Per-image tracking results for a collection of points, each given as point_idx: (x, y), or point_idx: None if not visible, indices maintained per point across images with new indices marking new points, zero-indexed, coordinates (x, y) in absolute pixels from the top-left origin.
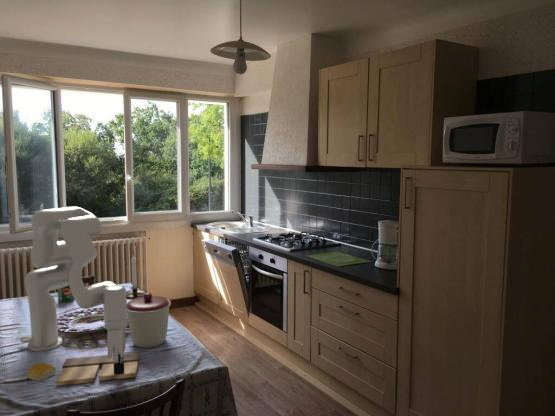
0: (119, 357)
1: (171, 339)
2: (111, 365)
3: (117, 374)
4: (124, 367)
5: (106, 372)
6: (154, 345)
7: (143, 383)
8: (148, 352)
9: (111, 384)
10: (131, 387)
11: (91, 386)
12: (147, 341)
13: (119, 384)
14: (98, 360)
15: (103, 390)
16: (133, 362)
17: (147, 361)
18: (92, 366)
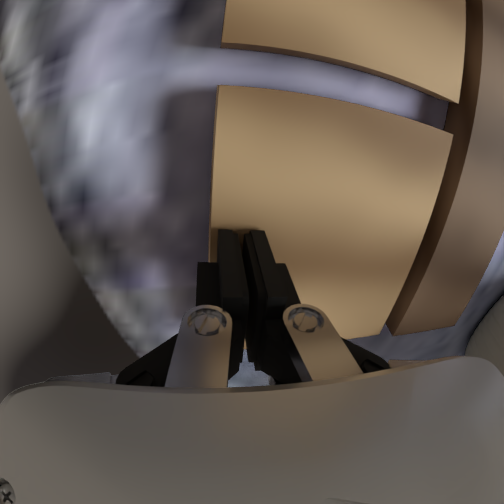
0: (290, 375)
1: None
2: (413, 191)
3: (213, 251)
4: (332, 283)
5: (292, 153)
6: (467, 349)
7: (152, 348)
8: (452, 330)
9: (161, 186)
10: (111, 303)
11: (166, 35)
12: (487, 351)
13: (152, 240)
14: (500, 113)
15: (82, 143)
16: (379, 318)
17: (385, 342)
18: (450, 55)
